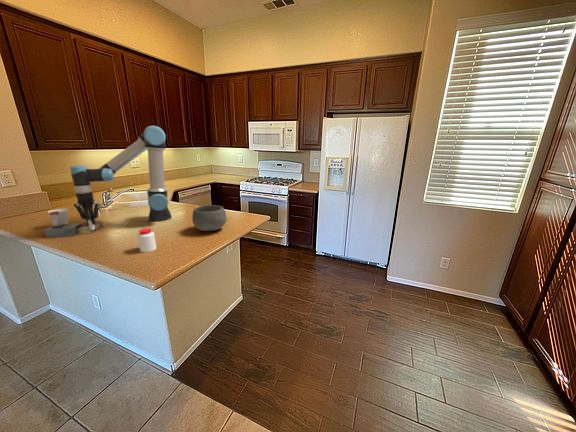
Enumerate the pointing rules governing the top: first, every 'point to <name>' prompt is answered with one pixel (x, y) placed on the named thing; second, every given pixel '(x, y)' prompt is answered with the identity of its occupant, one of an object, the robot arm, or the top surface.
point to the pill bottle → (146, 240)
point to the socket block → (62, 230)
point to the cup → (62, 215)
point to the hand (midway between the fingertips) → (92, 229)
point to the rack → (97, 224)
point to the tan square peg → (83, 230)
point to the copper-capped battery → (56, 219)
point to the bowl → (209, 217)
